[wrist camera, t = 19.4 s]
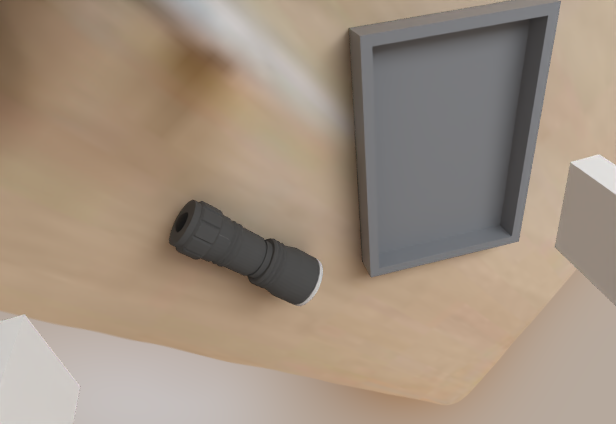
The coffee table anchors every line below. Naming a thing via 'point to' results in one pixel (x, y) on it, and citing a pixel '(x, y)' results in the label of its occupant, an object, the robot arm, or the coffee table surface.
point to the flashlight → (246, 253)
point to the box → (447, 128)
